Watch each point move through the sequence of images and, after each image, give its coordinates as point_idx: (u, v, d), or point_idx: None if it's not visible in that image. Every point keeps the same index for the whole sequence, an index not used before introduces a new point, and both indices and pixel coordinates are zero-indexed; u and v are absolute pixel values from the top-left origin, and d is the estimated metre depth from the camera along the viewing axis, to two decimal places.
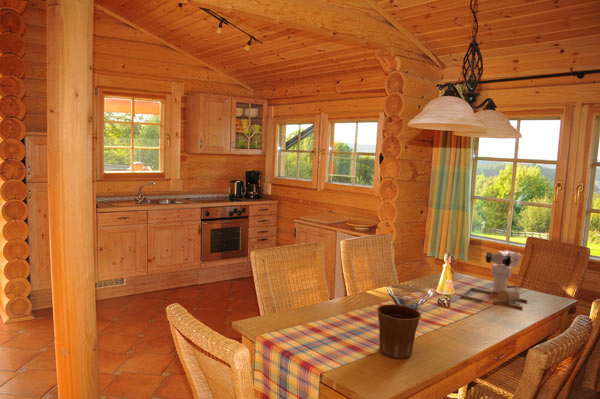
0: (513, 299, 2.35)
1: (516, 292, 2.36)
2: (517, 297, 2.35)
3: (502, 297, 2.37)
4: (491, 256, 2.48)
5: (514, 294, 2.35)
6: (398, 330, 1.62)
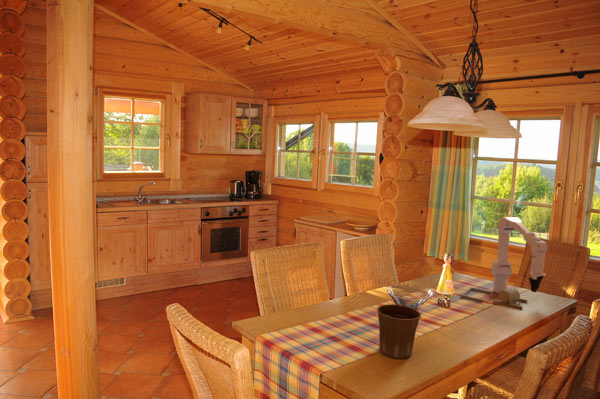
0: (514, 299, 2.34)
1: (517, 292, 2.35)
2: (518, 297, 2.35)
3: (503, 297, 2.36)
4: None
5: (515, 294, 2.34)
6: (398, 330, 1.62)
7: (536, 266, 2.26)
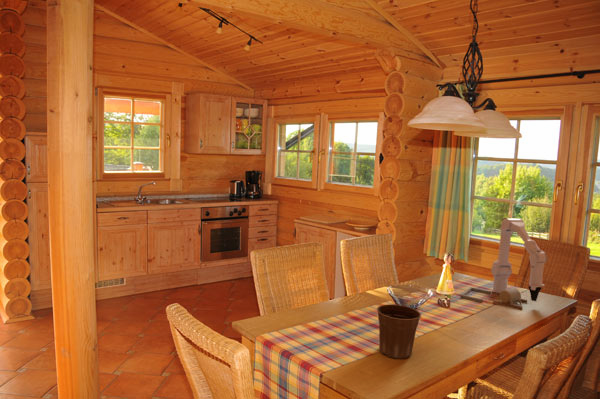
0: (514, 300, 2.34)
1: (517, 293, 2.35)
2: (518, 298, 2.34)
3: (503, 297, 2.36)
4: (535, 286, 2.26)
5: (515, 295, 2.34)
6: (398, 330, 1.62)
7: (535, 277, 2.27)
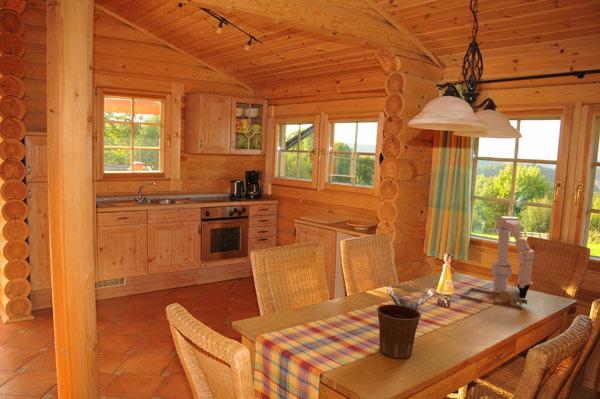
0: (514, 299, 2.34)
1: (517, 293, 2.35)
2: (518, 297, 2.34)
3: (503, 297, 2.35)
4: None
5: (515, 294, 2.34)
6: (398, 330, 1.62)
7: (523, 275, 2.30)
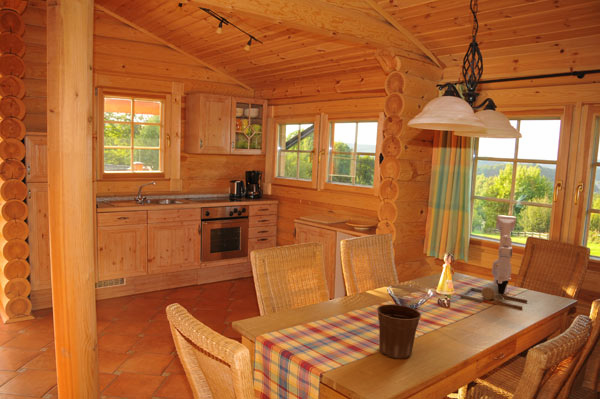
0: (496, 295, 2.39)
1: None
2: None
3: (486, 294, 2.40)
4: None
5: (497, 290, 2.40)
6: (398, 330, 1.62)
7: (502, 271, 2.36)
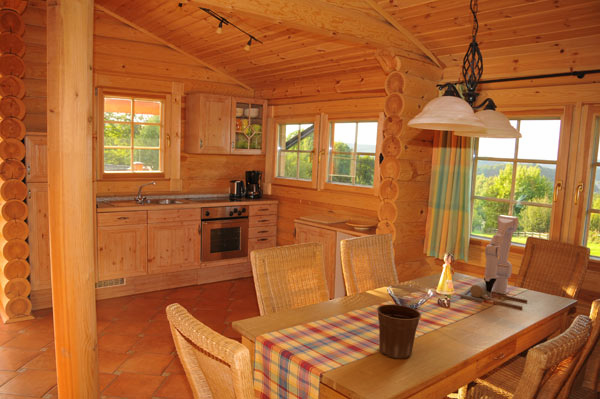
0: (485, 293, 2.43)
1: None
2: None
3: (475, 292, 2.43)
4: None
5: (485, 288, 2.44)
6: (398, 330, 1.62)
7: (489, 269, 2.39)
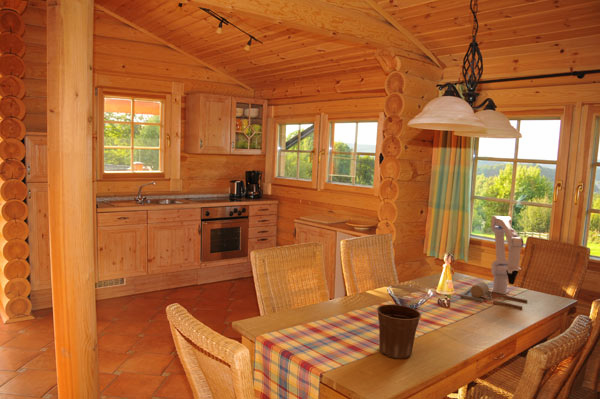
0: (485, 293, 2.43)
1: (486, 286, 2.45)
2: (487, 291, 2.44)
3: (475, 292, 2.43)
4: None
5: (485, 288, 2.43)
6: (398, 330, 1.62)
7: (512, 261, 2.36)
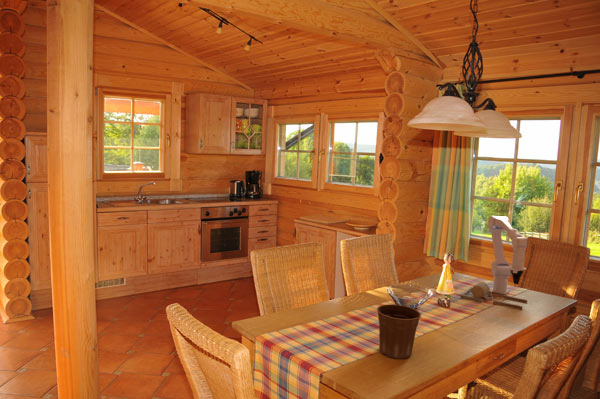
0: (486, 293, 2.43)
1: (487, 286, 2.44)
2: (488, 291, 2.44)
3: (476, 292, 2.42)
4: None
5: (486, 288, 2.43)
6: (398, 330, 1.62)
7: (517, 261, 2.37)
